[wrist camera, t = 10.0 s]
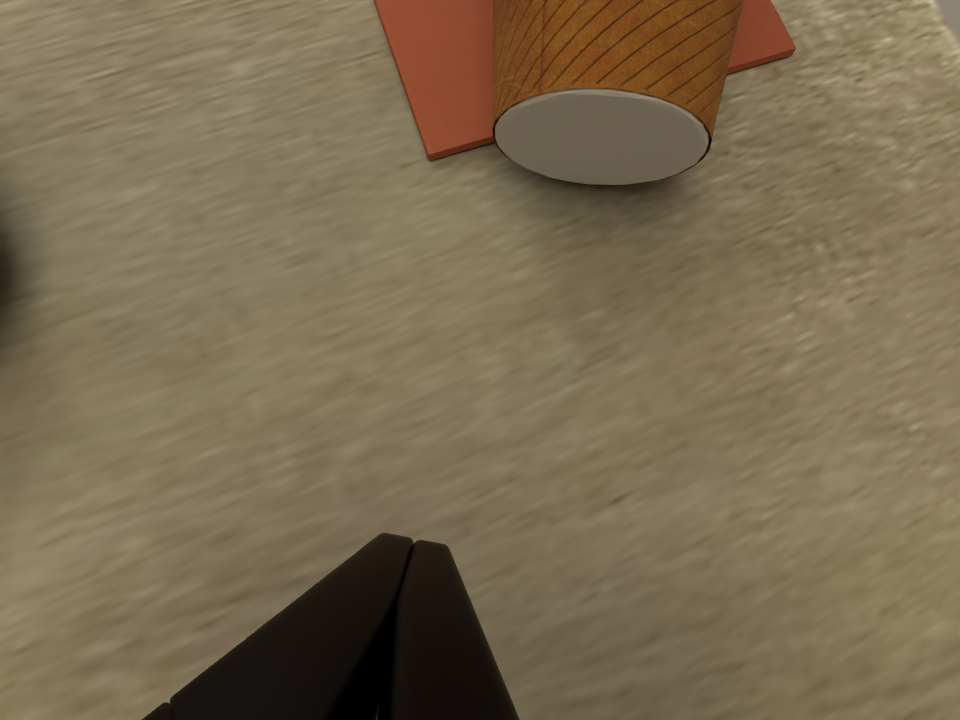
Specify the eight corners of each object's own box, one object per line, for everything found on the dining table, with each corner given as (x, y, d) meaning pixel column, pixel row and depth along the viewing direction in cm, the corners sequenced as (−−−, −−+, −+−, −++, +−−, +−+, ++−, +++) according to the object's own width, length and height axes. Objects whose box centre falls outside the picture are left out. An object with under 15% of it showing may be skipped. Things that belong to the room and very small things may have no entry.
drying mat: (791, 55, 23) (797, 47, 23) (429, 161, 22) (428, 155, 22) (695, -123, 25) (699, -133, 25) (361, -34, 24) (359, -43, 24)
